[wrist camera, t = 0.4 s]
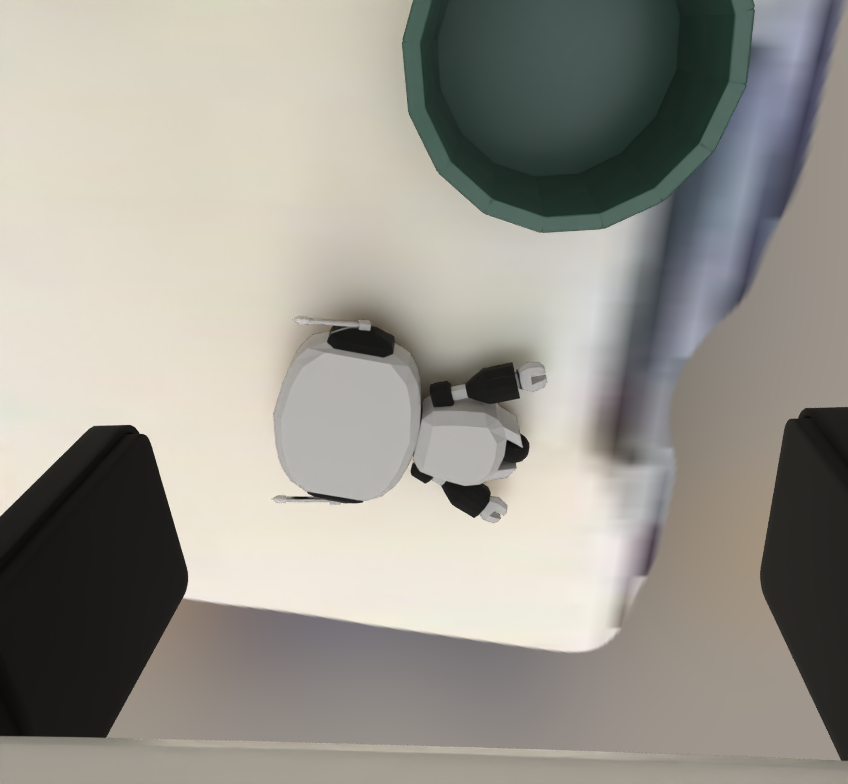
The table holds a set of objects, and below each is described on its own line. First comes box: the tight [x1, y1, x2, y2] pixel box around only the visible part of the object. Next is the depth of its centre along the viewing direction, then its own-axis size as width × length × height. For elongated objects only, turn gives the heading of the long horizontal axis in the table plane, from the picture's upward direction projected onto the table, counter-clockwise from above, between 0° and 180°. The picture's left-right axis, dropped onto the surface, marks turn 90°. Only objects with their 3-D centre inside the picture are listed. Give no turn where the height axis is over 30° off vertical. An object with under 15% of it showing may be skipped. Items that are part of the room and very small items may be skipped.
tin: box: [402, 0, 755, 233], centre depth 30 cm, size 13×13×9 cm
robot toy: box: [272, 316, 547, 523], centre depth 42 cm, size 12×4×15 cm
